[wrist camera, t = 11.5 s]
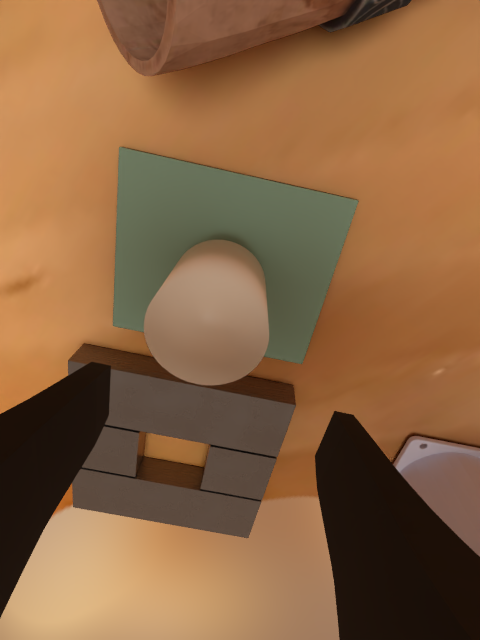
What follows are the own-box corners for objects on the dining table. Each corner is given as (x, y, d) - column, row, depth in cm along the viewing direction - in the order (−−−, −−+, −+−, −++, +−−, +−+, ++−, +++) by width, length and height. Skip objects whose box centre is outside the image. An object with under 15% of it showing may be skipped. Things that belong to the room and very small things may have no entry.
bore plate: (293, 385, 22) (295, 405, 21) (248, 514, 29) (248, 538, 27) (83, 343, 22) (68, 360, 20) (85, 484, 28) (73, 507, 26)
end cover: (273, 240, 18) (284, 291, 11) (253, 315, 20) (252, 395, 14) (188, 220, 18) (149, 261, 11) (176, 299, 20) (138, 372, 13)
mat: (356, 199, 17) (358, 200, 17) (301, 360, 22) (302, 364, 21) (122, 147, 17) (119, 147, 16) (115, 323, 21) (112, 326, 21)
